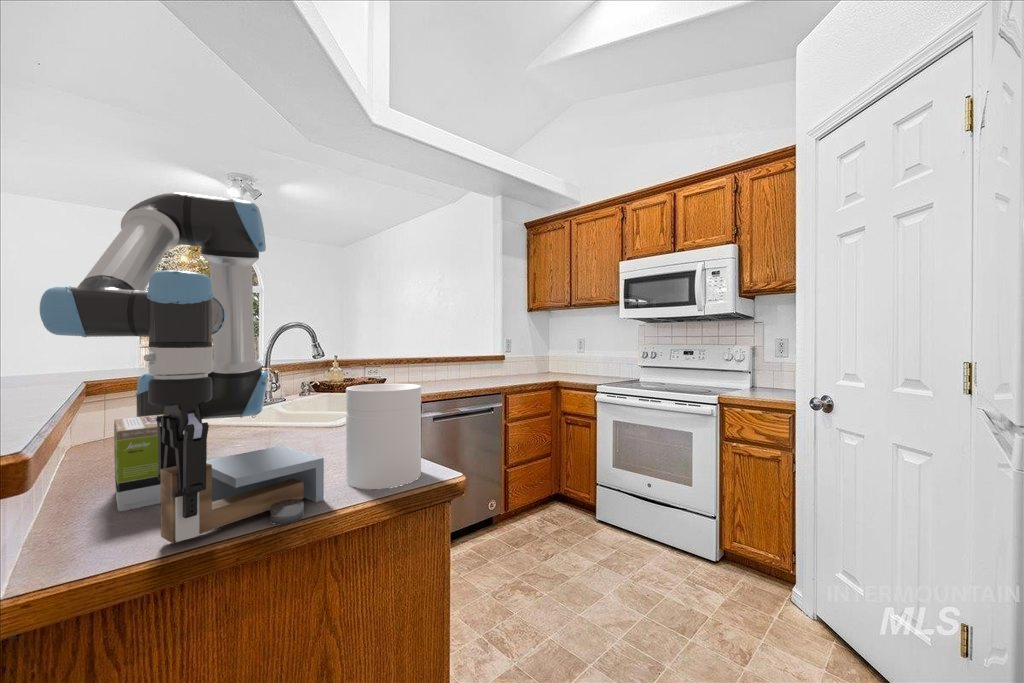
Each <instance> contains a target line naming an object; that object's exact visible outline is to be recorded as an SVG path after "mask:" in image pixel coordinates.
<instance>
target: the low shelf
mask: <svg viewBox="0 0 1024 683" xmlns="http://www.w3.org/2000/svg"><path fill="white" fill-rule="evenodd" d="M324 460H325V458H324V457H322V456H319V455H316V454H311V453H309V452H305V451H301V450H298V449H294V448H291V447H288V446H284V445H278V446H274V447H268V448H264V449H258V450H253V451H248V452H242V453H237V454H233V455H228V456H227V455H226V456H221V457H216V458H212V459H207V460H206V463H208V464H211V465H212V502H214V501H217V500H221V499H224V498H227V497H231V496H234V495H238V494H241V493H245V492H248V491H251V490H255V489H258V488H262V487H265V486H268V485H272V484H275V483H279V482H282V481H286V480H289V479H296V480H299V481H303V485H304V498H303V499H307V500H309V501H311V500H312V502H314V503H319V502H322V501H324V500H325V499H324V498H325V497H324V491H325V490H324V488H325V487H324V485H325V482H324V480H325V479H324V478H325V476H324V474H325V472H324V471H325V470H324V469H325V468H324V467H325V465H324V462H325V461H324Z"/></svg>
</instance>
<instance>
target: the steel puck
mask: <svg viewBox="0 0 1024 683" xmlns="http://www.w3.org/2000/svg"><path fill="white" fill-rule="evenodd" d="M304 502H305V500H303V499H288V500H283V501H279V502H276V503H274V504H272V505H271V507H270V510H269V512H270V516H269V518H270V521H271V522H272V523H275V524H274V525H278V524H281V525H287V524H288V525H289V524H292V523H295V522H298V521H300V520H301V519H303V518H304V517H305V516H304V515H305V511H304V506H305V504H304ZM271 522H270V523H271ZM272 523H271V524H272Z"/></svg>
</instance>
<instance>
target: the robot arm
mask: <svg viewBox="0 0 1024 683" xmlns="http://www.w3.org/2000/svg"><path fill="white" fill-rule="evenodd" d="M178 245H179V246H180V245H181V246H190V247H191V246H192V247H200V252H201V253H200V254H201V256H202V257H203V258H204V259H205V260H207V261H208V263H209V276H210V277H209V276H208V275H206V274H203V273H199V272H192V271H182V270H157V268H158V267H159V265H160V263H161V261H162V259H163V258H164V256H165V254H166V253H167V252H168V251H170V250H172V249H174V247H176V246H178ZM266 247H267V246H266V236H265V230H264V223H263V218H262V214H261V211H260V208H259V207H258V205H257V204H256V203H254V202H252V201H248V200H242V199H237V198H229V197H221V196H213V195H212V196H211V195H204V194H194V193H188V192H178V191H177V192H167V193H163V194H162V193H161V194H158V195H155V196H151V197H149V198H147V199H143V200H142V201H141V200H140V201H139V202H138V203H136V204H134V205H133V206H131V207H130V208H129V209H128V210H127V211H126V212H125V214H124V215H123V216H122V218H121V221H120V231H119V233H118V234H117V235H116V236H115V237H114V238H113V240H112V242H111V243H110V245H108V247H107V248H106V249H105V251H104V252H103V254H102V255H101V256H100V257H99V259H98V260H97V261H96V263H95V264H94V265H93V267H92V268H91V269H90V270H89V271H88V273H87V274H86V276H85V277H84V278H83V280H82V281H80V283H79V285H78V286H77V287H75V286H70V285H66V286H55V287H51V288H48V289H46V290H45V291H44V292H43V294H42V296H41V298H40V301H39V316H40V320H41V322H42V324H43V327H44V328H45V329H46V330H47V332H49V333H51V334H53V335H55V336H66V337H67V336H69V337H70V336H71V337H82V338H91V337H93V338H94V337H95V338H97V337H100V338H101V337H104V338H105V337H107V338H108V337H143V338H144V337H148V354H145V355H143V360H144V361H145V362H148V372H147V373H144V374H141V375H140V376H139V377H138V379H137V383H136V384H137V385H136V393H135V396H136V417H142V416H152V415H161V416H157V418H156V421H157V427H158V479H159V480H161V474H160V469H164V468H168V467H173V466H176V468H177V482H178V492H177V493H173V494H172V497H173V498H175V541H176V543H179V542H181V541H182V542H183V541H184V540H188V539H191V538H194V537H197V536H200V534H199V492H200V491H202V490H205V489H206V460H208V457H207V456H208V451H207V449H208V447H207V446H208V444H207V443H208V442H207V441H208V440H207V439H208V433H209V428H210V425H209V423H208V422H203V420H211V419H212V420H213V419H226V418H227V419H228V418H240V419H241V418H243V417H252V416H257V415H259V414H261V412H262V411H263V408H264V405H265V404H264V403H265V399H266V392H267V385H268V377H269V376H268V375H269V372H268V371H266V370H265V369H264V370H262V363H261V362H260V361H258V360H257V359H256V358H255V335H254V334H255V330H254V292H253V291H254V290H253V265H254V264H255V263H256V262H257V261H258V260H259V259H260V253H264V252H265V251H266V249H267V248H266ZM156 270H157V271H156ZM147 287H148V288H147ZM146 289H147V290H146Z"/></svg>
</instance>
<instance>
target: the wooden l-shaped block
mask: <svg viewBox="0 0 1024 683" xmlns="http://www.w3.org/2000/svg"><path fill="white" fill-rule="evenodd" d="M160 474H161V503H160V537H161V538H163V539H164V540H166V541H167V542H169V543H171V544H174V543H175V544H176V543H177V542H176V541H175V498H173V497H172V494H173V493H177V492H178V482H177V468H176V466H173V467H168V468H164V469H160ZM288 499H300V500H303V499H305V498H304V485H303V481H299V480H296V479H289V480H286V481H282V482H279V483H275V484H272V485H268V486H265V487H262V488H258V489H255V490H251V491H248V492H245V493H241V494H238V495H234V496H231V497H227V498H224V499H221V500H217V501H214V502H212V465H211V464H208V463H206V489H205V490H202V491H200V492H199V535H202V534H204V533H207V532H210V531H213V530H214V529H218V528H220V527H223V526H226V525H229V524H232V523H235V522H237V521H241V520H243V519H246V518H250V517H252V516H255V515H259V514H261V513H264V512H267V511H270V507H271V505H272V504H274V503H276V502H279V501H283V500H288Z"/></svg>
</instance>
